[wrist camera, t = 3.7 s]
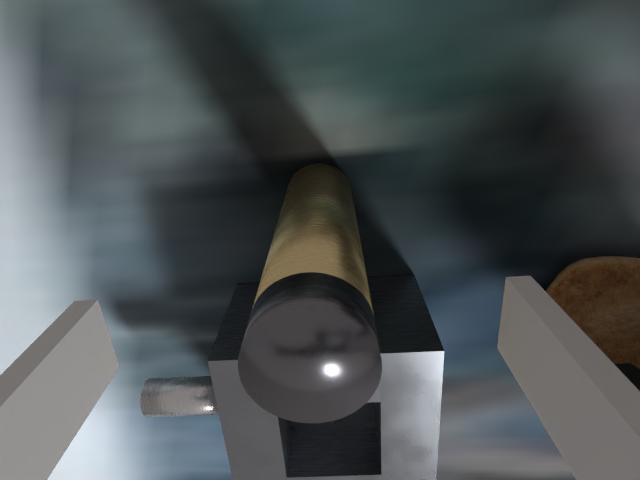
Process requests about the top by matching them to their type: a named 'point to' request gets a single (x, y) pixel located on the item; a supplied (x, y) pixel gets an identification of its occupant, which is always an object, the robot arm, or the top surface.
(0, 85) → the top surface
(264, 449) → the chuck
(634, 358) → the stone cup
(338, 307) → the cylindrical container
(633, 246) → the top surface
